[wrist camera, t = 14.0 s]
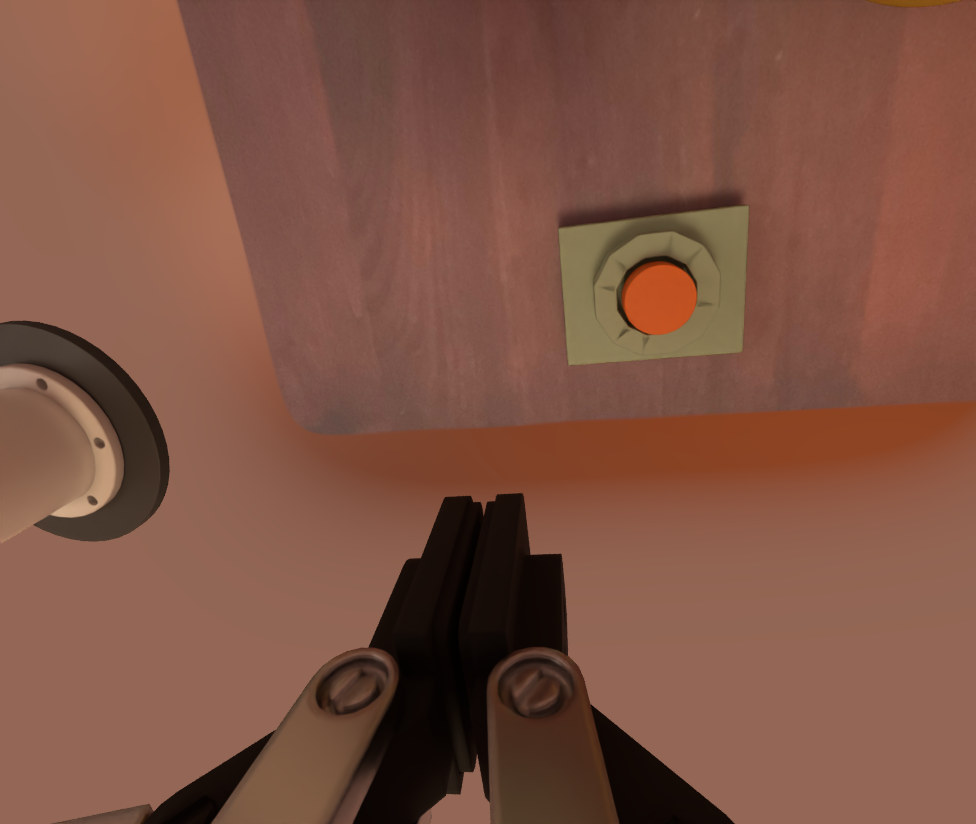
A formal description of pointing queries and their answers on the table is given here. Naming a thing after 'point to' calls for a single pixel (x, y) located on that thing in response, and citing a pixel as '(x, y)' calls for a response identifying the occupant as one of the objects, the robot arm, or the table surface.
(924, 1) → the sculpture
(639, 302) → the button
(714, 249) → the control block
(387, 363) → the table surface
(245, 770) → the robot arm
